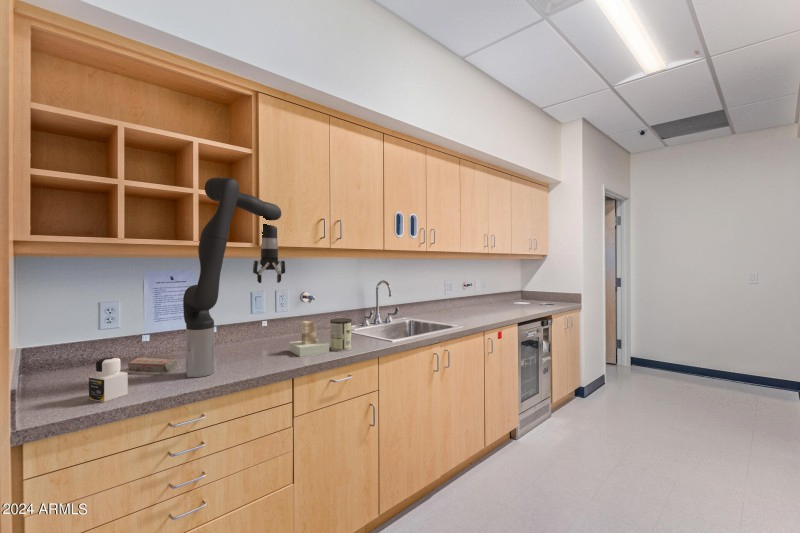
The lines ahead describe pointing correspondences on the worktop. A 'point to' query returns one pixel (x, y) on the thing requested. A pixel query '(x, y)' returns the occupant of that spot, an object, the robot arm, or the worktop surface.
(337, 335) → the coffee can
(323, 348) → the sage plinth
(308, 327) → the birch block
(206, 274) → the robot arm
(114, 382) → the medicine bottle
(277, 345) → the worktop surface
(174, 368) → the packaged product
